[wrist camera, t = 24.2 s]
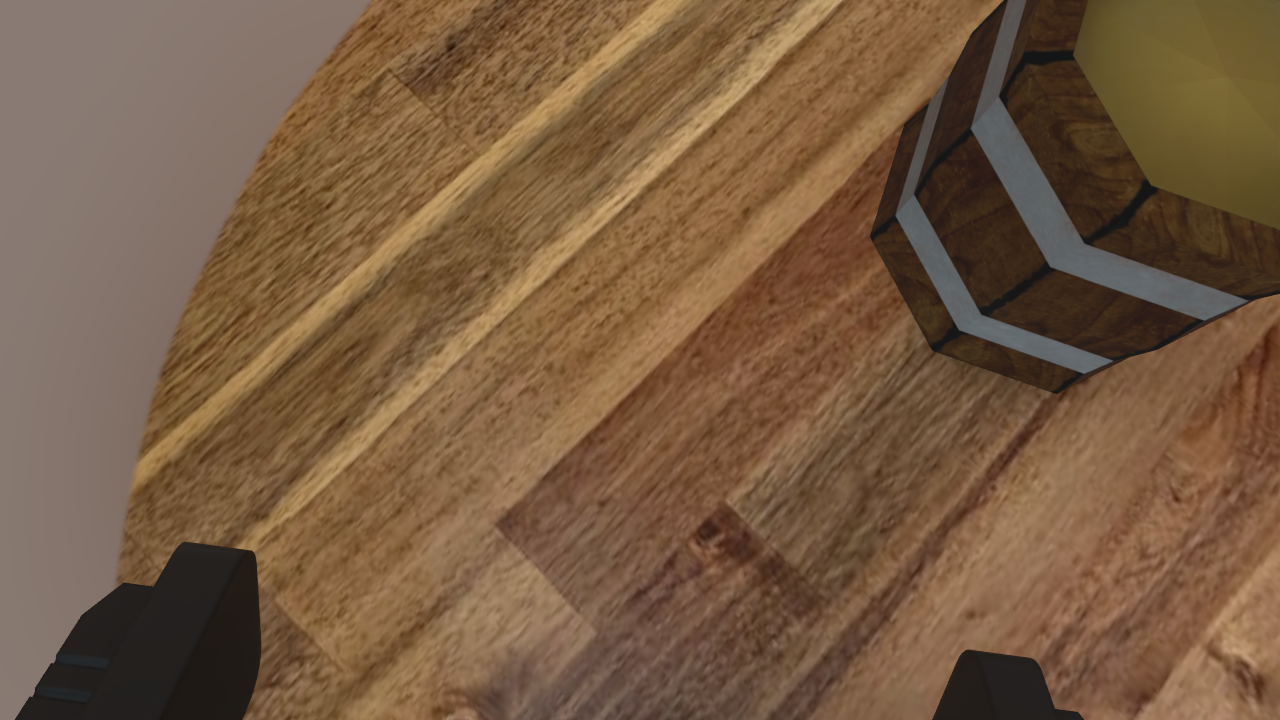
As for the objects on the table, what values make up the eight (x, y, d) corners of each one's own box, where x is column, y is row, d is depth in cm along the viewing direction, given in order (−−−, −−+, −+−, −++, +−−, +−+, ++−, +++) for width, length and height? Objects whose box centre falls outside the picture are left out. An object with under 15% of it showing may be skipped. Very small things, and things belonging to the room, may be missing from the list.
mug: (1067, 464, 43) (1328, 393, 28) (801, 239, 44) (921, 59, 30) (1335, 120, 47) (1684, -97, 33) (1085, -78, 48) (1313, -373, 34)
